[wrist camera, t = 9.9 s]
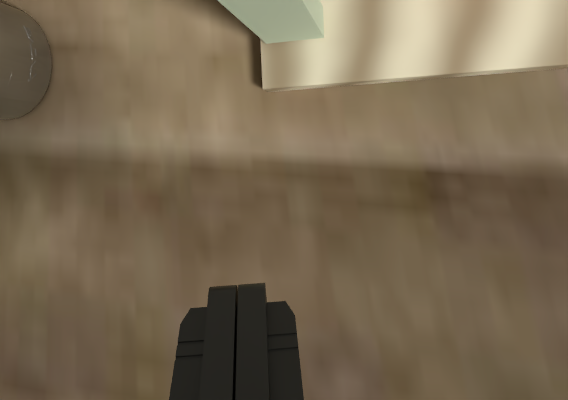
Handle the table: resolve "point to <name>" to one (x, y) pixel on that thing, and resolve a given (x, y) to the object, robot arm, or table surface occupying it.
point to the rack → (420, 42)
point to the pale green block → (280, 18)
